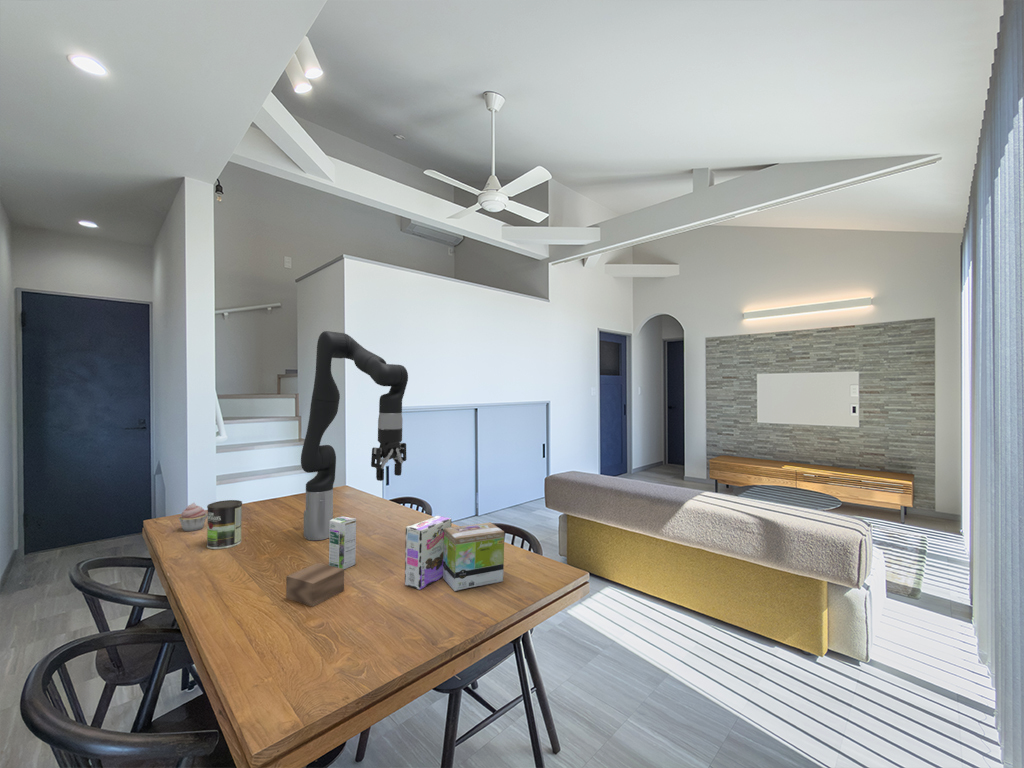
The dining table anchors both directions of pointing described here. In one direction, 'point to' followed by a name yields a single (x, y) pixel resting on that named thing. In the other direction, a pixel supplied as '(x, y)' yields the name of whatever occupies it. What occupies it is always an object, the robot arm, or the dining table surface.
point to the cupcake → (193, 518)
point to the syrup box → (342, 542)
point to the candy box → (425, 551)
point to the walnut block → (314, 584)
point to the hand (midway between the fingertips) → (389, 477)
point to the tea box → (473, 555)
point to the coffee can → (224, 524)
